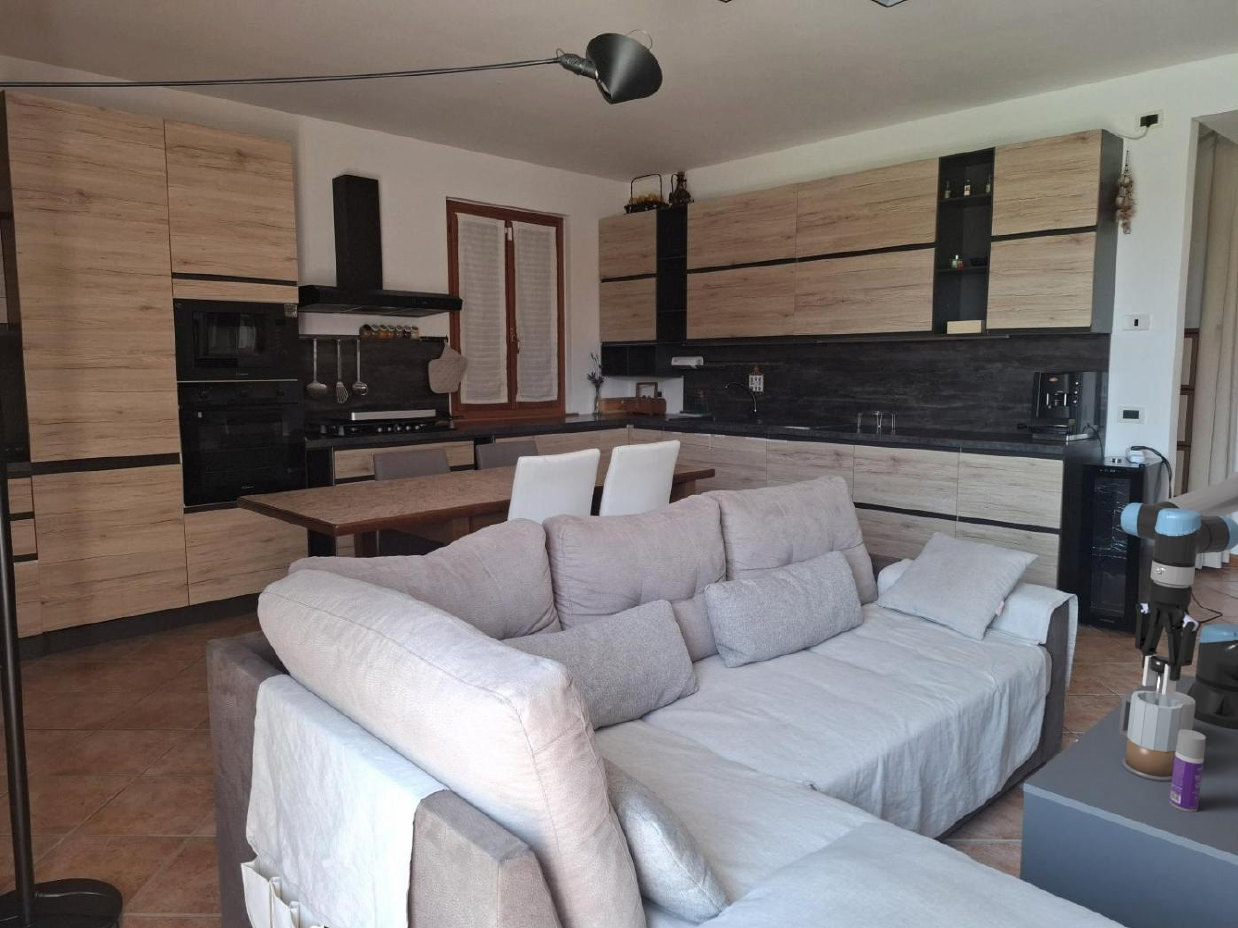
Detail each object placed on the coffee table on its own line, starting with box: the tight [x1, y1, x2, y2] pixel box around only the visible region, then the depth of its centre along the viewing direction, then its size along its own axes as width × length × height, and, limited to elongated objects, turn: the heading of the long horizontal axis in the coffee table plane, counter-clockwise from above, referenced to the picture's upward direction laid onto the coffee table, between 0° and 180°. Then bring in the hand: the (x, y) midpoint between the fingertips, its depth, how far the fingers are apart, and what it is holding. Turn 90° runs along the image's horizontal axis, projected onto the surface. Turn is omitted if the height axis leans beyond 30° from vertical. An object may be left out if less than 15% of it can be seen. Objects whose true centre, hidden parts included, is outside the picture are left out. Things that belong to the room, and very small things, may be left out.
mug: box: [1152, 689, 1196, 730], centre depth 194 cm, size 12×8×11 cm
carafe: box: [1118, 690, 1183, 783], centre depth 180 cm, size 10×12×16 cm
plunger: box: [1150, 655, 1169, 706], centre depth 178 cm, size 6×6×18 cm
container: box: [1169, 729, 1207, 813], centre depth 165 cm, size 5×5×15 cm
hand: (1158, 688), depth 178 cm, fingers closed on plunger, 4 cm apart
